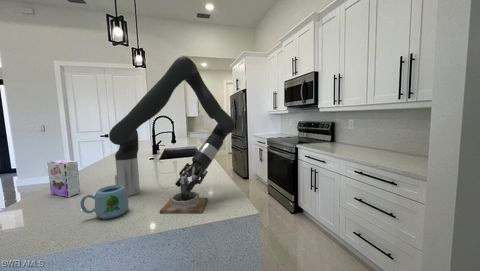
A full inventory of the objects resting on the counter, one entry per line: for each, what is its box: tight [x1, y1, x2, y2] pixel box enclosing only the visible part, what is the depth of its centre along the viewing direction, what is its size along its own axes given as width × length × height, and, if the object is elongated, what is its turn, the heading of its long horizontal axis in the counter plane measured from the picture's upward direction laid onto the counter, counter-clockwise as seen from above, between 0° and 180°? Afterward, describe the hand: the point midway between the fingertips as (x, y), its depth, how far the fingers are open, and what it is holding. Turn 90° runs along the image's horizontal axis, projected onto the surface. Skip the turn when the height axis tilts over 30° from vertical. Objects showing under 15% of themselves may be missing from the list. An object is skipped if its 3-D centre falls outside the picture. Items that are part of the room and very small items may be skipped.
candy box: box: [46, 159, 81, 198], centre depth 102 cm, size 14×6×16 cm, turn 68°
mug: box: [79, 184, 130, 220], centre depth 79 cm, size 15×11×10 cm
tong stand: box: [159, 191, 209, 215], centre depth 85 cm, size 16×12×4 cm
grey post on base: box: [178, 175, 193, 201], centre depth 84 cm, size 6×6×11 cm
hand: (181, 188), depth 83 cm, fingers open, 8 cm apart
